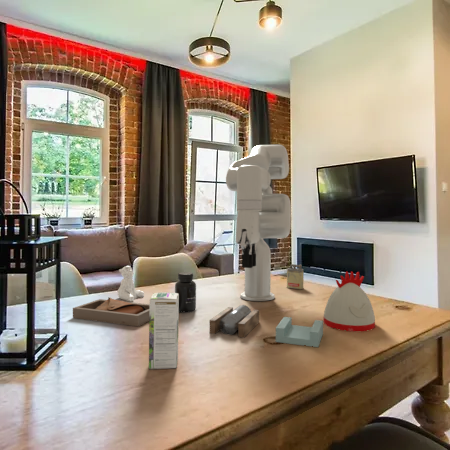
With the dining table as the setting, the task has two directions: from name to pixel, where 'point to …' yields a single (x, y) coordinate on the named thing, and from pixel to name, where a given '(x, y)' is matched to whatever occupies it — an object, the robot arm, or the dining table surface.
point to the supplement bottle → (186, 292)
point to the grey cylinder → (234, 319)
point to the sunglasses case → (120, 307)
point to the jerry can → (295, 277)
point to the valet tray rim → (110, 314)
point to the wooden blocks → (243, 326)
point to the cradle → (299, 333)
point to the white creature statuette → (128, 286)
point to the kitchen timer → (349, 306)
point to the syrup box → (163, 330)
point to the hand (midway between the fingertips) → (249, 266)
